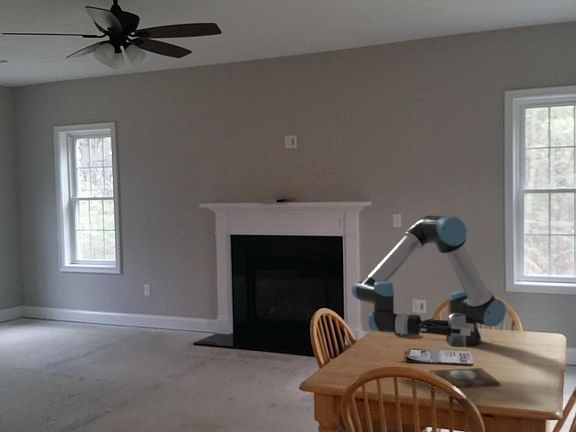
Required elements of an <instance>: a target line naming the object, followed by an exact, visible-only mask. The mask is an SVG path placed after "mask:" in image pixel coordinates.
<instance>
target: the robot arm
mask: <svg viewBox="0 0 576 432" xmlns="http://www.w3.org/2000/svg"><path fill="white" fill-rule="evenodd" d="M466 233H467V227H466V225H465V223H464V221H463V220H462V219H460V218H459V217H457V216H452V215H426V216H423V217H422V218H421V217H420V218H419V219H418V220H417V221H415V222H414V223H412V224H411V225H410V226H409V227H408V228H407V230H405V232H403V235H402V238H401V239H400V241H399V242H398V243H397V244H396V245H395V246H394V247H393V248H392V249H391V250H390V251H389V252H388V253H387V255H386V256H384V258H383V259H382V260H381V261H380V262H379V264H378V265H376V267H375V268H374V269H372V271H370V273H369V274H368V275H367V277H365V278H364V280H361V281H356V282H355V283H354V284H353V285H352V287H351V293H352V297H354V298H355V299H356V300H359V301H360V302H365V303H370V304H373V305H374V306H373V310H374V311H370V313H369V315H368V319H367V324H368V327H369V329H370V330H371V331H374V332H380V333H392V334H394V333H400V334H399V335H400V336H403V335H411V336H419V335H420V334H431V335H441V336H445V339H446V340H445V342H446V343H448V344H449V337H450V336H451V334H454V335H465V336H466V346H465V347H467V346H468V347H470V346H478V345H481V343H482V337H481V334H480V331H479V328H478V325H477V324H479V325H482V326H483V325H484V326H486V327H496V326H499V325H500V324H501V323H502V322H503V321H504V318H505V315H506V305H505V303H504V301H502V300H501V299H497V298H496V297H495V295H494V293H493V292H492V290H491V289H489V288H486V285H485V283H484V281H483V280H482V278H481V275H480V273H479V272H478V270H477V267H476V266H475V264H474V262H473V260H472V258H471V256H470V254H469V251H468V250H467V248H466V245H465V244H466V242H467V240H466V239H467V238H466V237H467V234H466ZM427 244H435V246H436V247H437V250H438V251H439V252H440V253H441V254H444V255H445V257H446V259H447V260H448V263H449V264H450V266H451V268H452V270H453V272H454V274H455V276H456V278H457V280H458V282H459V285H460V286H461V287H462V289H463V290H457V291H456V290H455V291H452V292H450V294H449V298H448V299H449V300H448V301H449V302H448V305H449V307H448V308H449V310H448V311H449V314H451V313H461V314H464V315H466V328H464V327H453V326H452V327H449V323H448V320H444V319H433V318H429V319H424V320H422V319H421V316H420V315H419V314H408V313H405V314H397V312H395V310H394V309H395V306H394V305H395V303H394V302H395V300H394V298H395V295H394V294H395V293H394V292H395V291H394V284H393V283H392V282H391V281H390V279H391V278H392V277H393V276H394V275H395V274H396V273H397V272H398V270H399V269H401V268H402V266H403V265H404V264H405V263H406V262H407V261H408V259H409V258H410V257H411V256H412V255H413V254H415V252H416V251H417V250H420V249H422V248H423V247H424V246H425V245H427ZM408 333H409V334H408Z"/></svg>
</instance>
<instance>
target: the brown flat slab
mask: <svg viewBox="0 0 576 432" xmlns="http://www.w3.org/2000/svg"><path fill="white" fill-rule="evenodd" d="M429 372H430V373H433V374H435V375H437V376H439V377H441V378H443V379H445V380H446V381H448V382H450V383H451V384H452V385H454V386H456V387H458V388H457V389H460V388H476V387H477V388H478V387H479V388H480V387H496V386H500V381H499V380H497V379H496V378H495V377H494V376H492V375H490V374H489V373H488V372H487V371H485V370H484V369H483V368H482V367H476V368H475V367H474V368H453V369H450V368H449V369H433V370H432V369H431V370H428V373H429Z"/></svg>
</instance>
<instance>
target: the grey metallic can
mask: <svg viewBox="0 0 576 432" xmlns="http://www.w3.org/2000/svg"><path fill="white" fill-rule="evenodd" d="M447 317H448V318H447V319H448V320H447V321H448V323H449V327H452V326H453V327H464V328H466V315H464V314H461V313H451V314H450V313H448V316H447ZM448 345H449V346H450V347H452V348H463V347H467V346H466V336H465V335H454V334H451V336H450V337H449V343H448Z"/></svg>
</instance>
